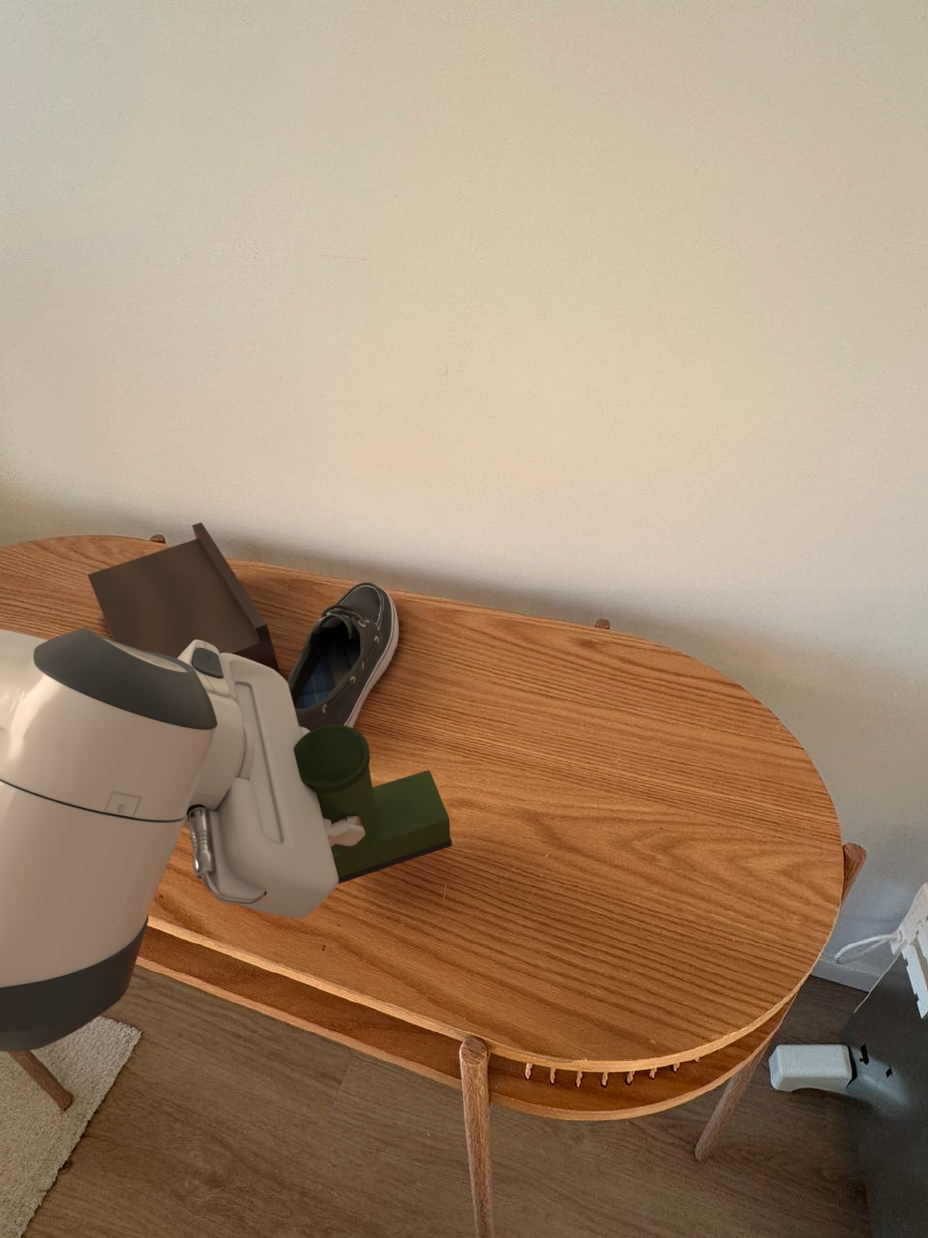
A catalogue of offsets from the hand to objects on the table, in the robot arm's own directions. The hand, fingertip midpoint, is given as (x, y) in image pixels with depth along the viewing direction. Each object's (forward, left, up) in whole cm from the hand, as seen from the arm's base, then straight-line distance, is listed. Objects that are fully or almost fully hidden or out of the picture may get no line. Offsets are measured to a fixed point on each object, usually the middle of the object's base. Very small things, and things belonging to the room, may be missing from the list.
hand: (347, 796), depth 56 cm
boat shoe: (+9, +22, -11) cm, 27 cm away
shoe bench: (-5, +36, -11) cm, 38 cm away
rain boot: (+2, 0, -7) cm, 8 cm away
